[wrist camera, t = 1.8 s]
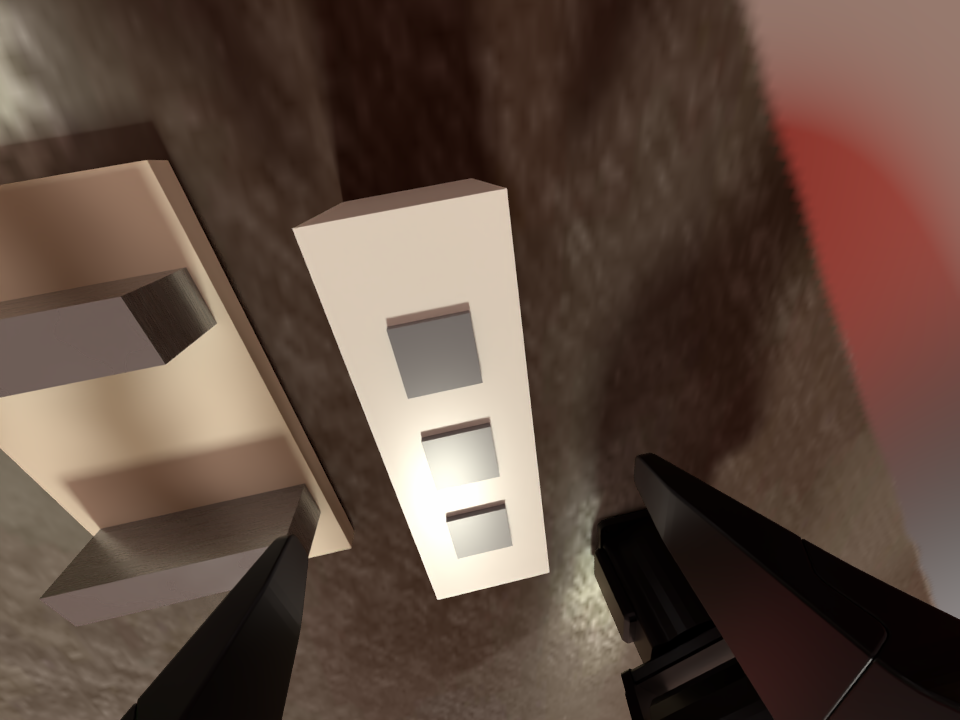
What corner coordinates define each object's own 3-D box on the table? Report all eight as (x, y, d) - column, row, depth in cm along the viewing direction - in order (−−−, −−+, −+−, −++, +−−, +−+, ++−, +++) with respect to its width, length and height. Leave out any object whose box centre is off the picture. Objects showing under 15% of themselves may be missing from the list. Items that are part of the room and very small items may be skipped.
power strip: (471, 177, 13) (508, 189, 8) (514, 464, 20) (551, 577, 14) (344, 201, 13) (289, 230, 7) (432, 482, 20) (438, 605, 14)
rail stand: (167, 160, 11) (56, 158, 8) (354, 531, 20) (340, 608, 17) (-182, 219, 11) (-470, 246, 7) (166, 574, 20) (111, 664, 16)
